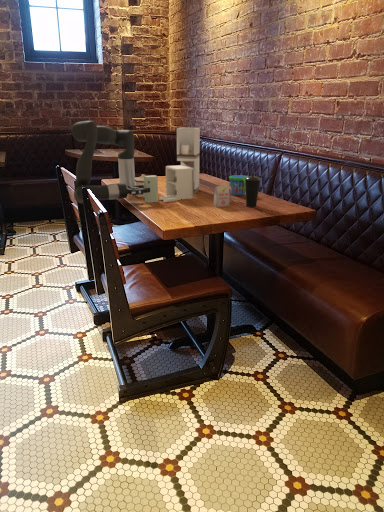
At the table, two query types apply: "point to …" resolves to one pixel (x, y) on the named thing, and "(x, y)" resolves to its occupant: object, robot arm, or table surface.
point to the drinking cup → (252, 189)
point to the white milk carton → (221, 196)
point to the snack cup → (237, 185)
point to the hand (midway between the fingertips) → (146, 188)
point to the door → (151, 188)
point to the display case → (189, 151)
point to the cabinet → (178, 183)
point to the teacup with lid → (140, 183)
